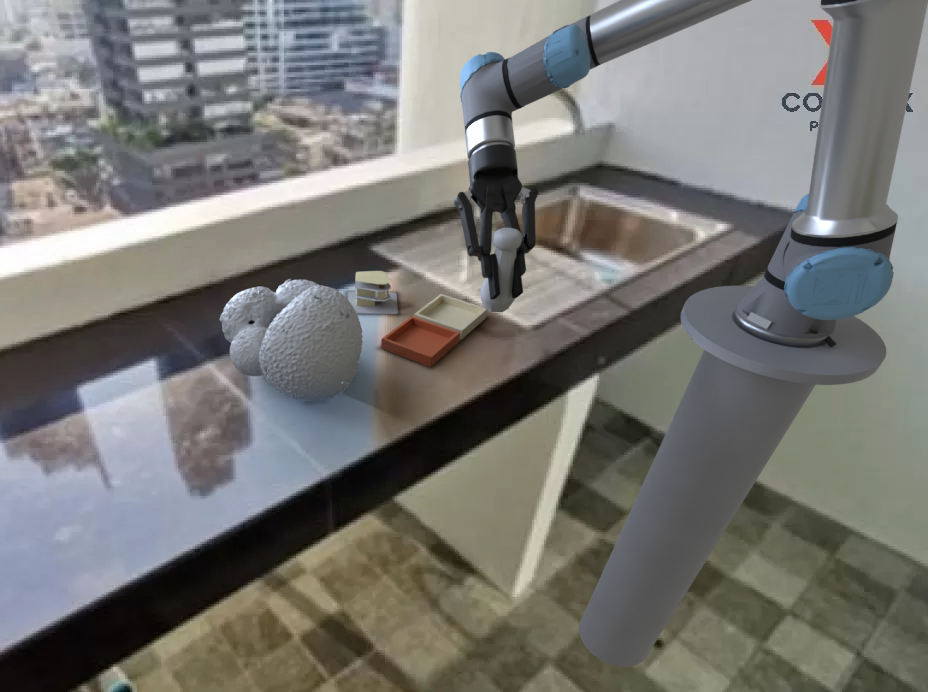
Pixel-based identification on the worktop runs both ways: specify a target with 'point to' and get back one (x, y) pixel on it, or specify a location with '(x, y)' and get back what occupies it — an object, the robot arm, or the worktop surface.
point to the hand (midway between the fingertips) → (506, 295)
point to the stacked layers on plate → (373, 293)
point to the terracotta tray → (420, 340)
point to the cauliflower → (295, 338)
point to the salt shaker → (502, 269)
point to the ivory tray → (453, 314)
